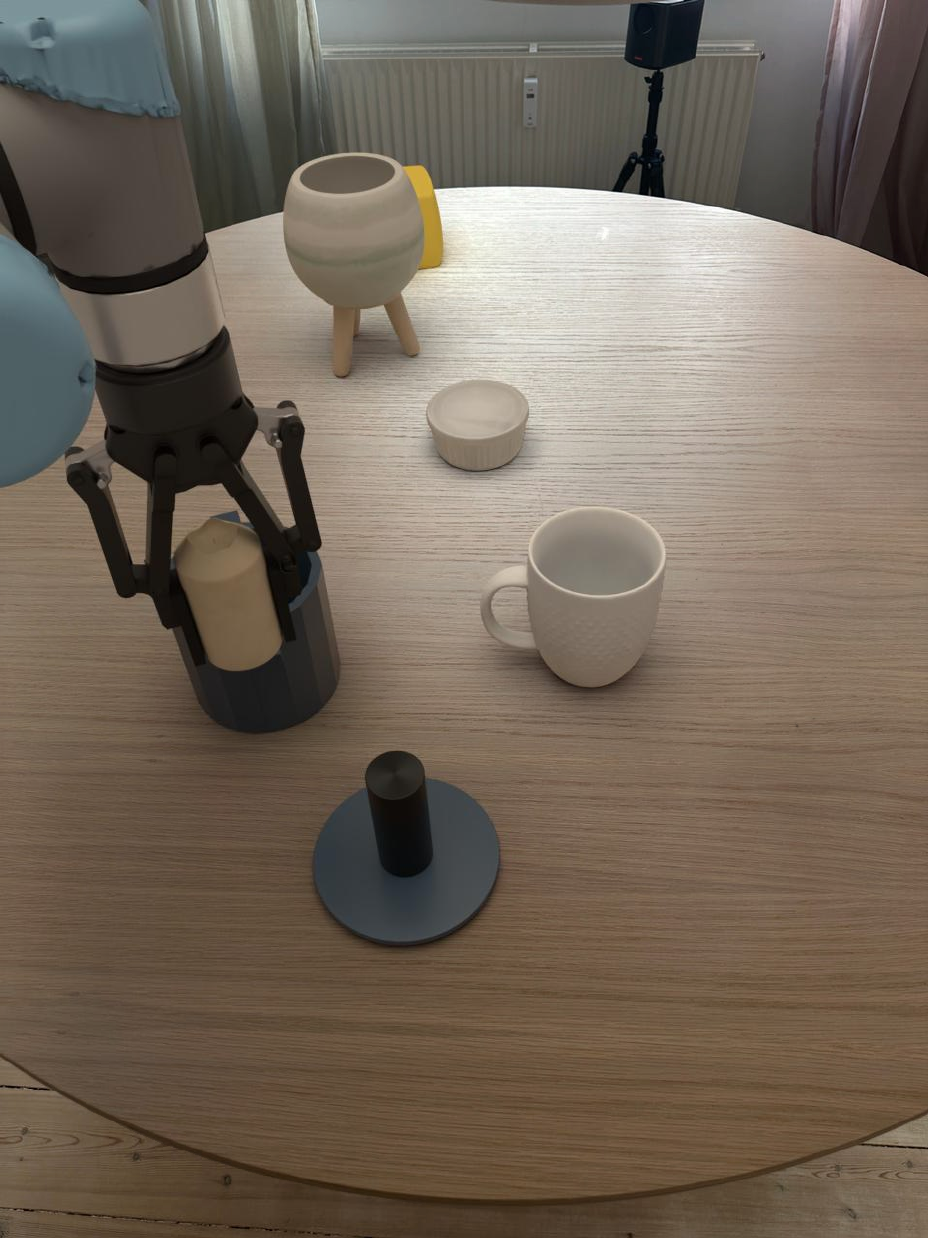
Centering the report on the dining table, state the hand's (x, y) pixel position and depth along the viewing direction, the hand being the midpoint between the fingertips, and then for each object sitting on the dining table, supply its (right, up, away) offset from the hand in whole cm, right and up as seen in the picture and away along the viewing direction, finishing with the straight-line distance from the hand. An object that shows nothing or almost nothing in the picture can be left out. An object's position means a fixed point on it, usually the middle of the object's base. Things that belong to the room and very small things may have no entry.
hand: (243, 639), depth 68 cm
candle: (0, 0, 0) cm, 1 cm away
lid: (+11, -16, +5) cm, 20 cm away
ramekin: (+17, +20, +42) cm, 50 cm away
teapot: (+6, +55, +76) cm, 94 cm away
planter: (+3, +35, +57) cm, 67 cm away
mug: (+25, -2, +19) cm, 32 cm away
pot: (-2, -4, +19) cm, 19 cm away
